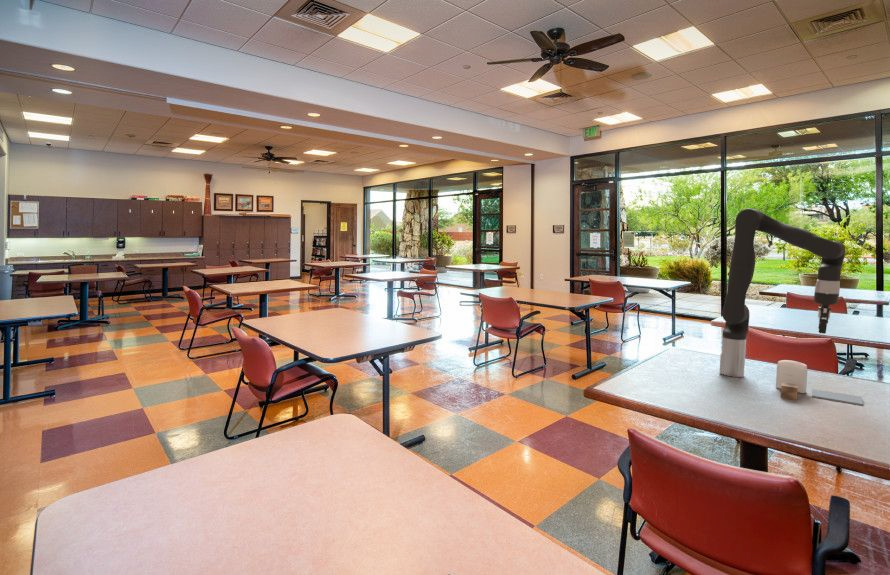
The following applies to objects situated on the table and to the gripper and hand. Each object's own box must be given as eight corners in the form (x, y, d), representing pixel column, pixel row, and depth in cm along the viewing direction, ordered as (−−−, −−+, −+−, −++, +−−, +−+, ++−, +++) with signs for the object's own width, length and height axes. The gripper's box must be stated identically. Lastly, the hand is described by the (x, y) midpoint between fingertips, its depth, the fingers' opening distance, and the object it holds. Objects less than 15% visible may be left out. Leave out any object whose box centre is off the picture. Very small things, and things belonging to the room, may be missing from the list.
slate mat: (811, 396, 181) (811, 395, 181) (812, 390, 188) (812, 388, 188) (863, 405, 171) (863, 404, 171) (861, 398, 179) (861, 396, 179)
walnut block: (780, 397, 181) (781, 385, 180) (781, 394, 184) (782, 382, 184) (796, 400, 177) (797, 388, 177) (797, 396, 181) (798, 384, 181)
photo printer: (773, 388, 191) (776, 359, 190) (777, 385, 194) (779, 357, 193) (804, 394, 184) (806, 364, 182) (807, 392, 186) (809, 362, 185)
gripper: (814, 288, 190) (810, 327, 192) (814, 292, 179) (809, 333, 181) (838, 290, 185) (833, 329, 187) (840, 294, 174) (834, 336, 176)
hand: (821, 331), depth 184 cm, fingers open, 8 cm apart
